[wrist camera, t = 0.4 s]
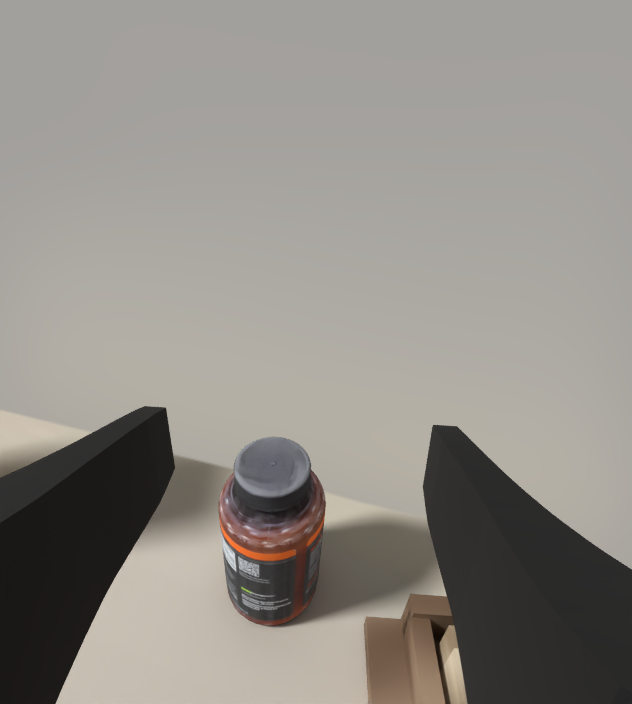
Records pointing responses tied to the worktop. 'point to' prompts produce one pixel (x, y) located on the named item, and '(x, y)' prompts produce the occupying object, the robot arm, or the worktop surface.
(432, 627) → the bay
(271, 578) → the supplement bottle
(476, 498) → the robot arm
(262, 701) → the worktop surface
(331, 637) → the worktop surface
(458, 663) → the drawer
